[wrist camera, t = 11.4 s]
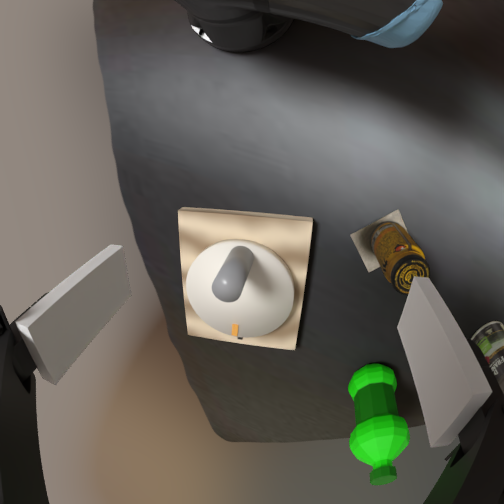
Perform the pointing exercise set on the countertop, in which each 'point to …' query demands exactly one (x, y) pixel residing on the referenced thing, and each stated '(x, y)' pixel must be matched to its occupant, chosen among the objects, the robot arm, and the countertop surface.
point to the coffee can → (492, 347)
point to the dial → (240, 288)
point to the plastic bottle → (377, 421)
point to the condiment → (391, 251)
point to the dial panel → (258, 230)
